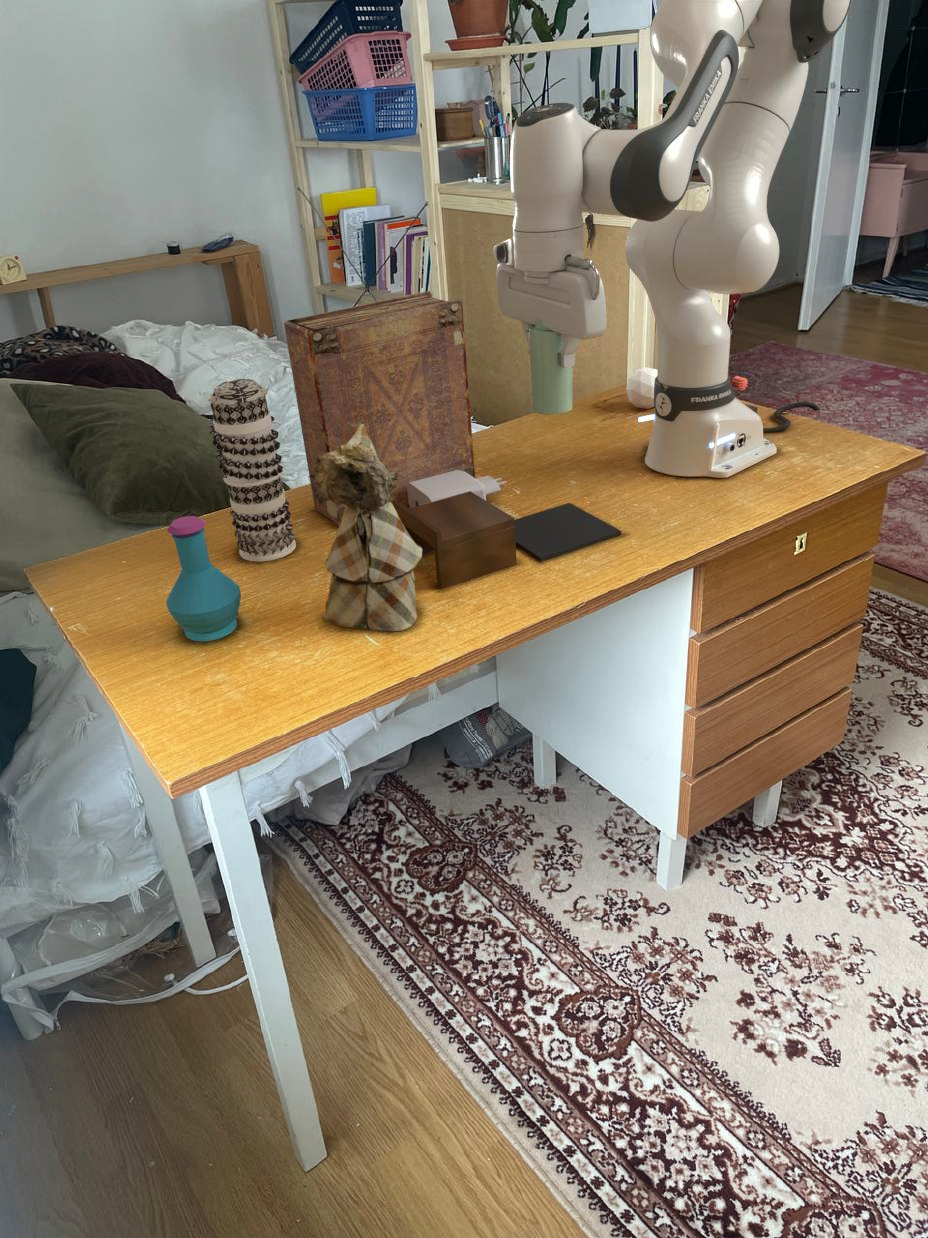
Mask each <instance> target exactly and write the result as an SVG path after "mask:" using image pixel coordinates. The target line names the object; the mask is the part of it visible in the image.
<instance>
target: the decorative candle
mask: <svg viewBox="0 0 928 1238" xmlns="http://www.w3.org/2000/svg"><path fill="white" fill-rule="evenodd" d="M267 394H268V389H267V388H265V387H263V386H261V385H260V384H259V383H258V382H257V381H255V380H254V379H251V378H236V379H229V380H226V381H222V382H220V383H219V384H217V385H215V388H214V390H213V393H211V394H210V395H209V396H208V398H207V401H208V402H209V403H210V408H211V412H212V417H213V419H212V425H210V427H209V428H210V430H209V434H210V435H211V436H212V445H213V446H214V447H215V449H217V450H216V455H215V457H216V459H218V460H219V464H218V468H219V469H220V470H221V473H222V475H223V477H222V480H223V482H224V483H225V484H226V485H227V487H228V492H229V493H228V494H229V504H230V506H231V508H230V512H229V514H230V516H232V525H233V526H234V528H235V530H234V533H233V534H234V537H235V538H236V540H237V541H236V546H237V548H239V552H238V553H239V556H240V557H241V558H242V559H243V560H246V561H248V562H249V561H250V562H261V563H263V562H269V561H275V560H279V559H282V558H284V557H286V556H288V555H289V554H291V553H292V552H293V551H294V550H295V549H296V546H297V544H296V543H297V542H296V540H295V535H296V533H295V532H293V530H294V528H293V526H294V523H293V522H292V520H291V513H292V512H291V511H290V510H289V509H290V507H289V506H290V502H289V501H288V500H287V498H286V497H287V496H286V493H285V489H284V488H283V486H282V485H283V483H282V482H283V481H282V478H281V476H282V475H283V471H284V470H283V469H284V466H283V465H280V463H281V462H282V459H283V457H282V455H280V454H278V453H277V450H279V449H280V447H281V443H280V441H278V440H276V439H278V437H279V433H280V432H279V431H277V430H275V429H274V428H271V425H272V423H273V422H274V421H275V417H274V416H272V415H271V411H270V410H269V408H268V401H267V398H266V395H267Z"/></svg>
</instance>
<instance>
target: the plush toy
mask: <svg viewBox="0 0 928 1238" xmlns="http://www.w3.org/2000/svg"><path fill="white" fill-rule="evenodd" d="M316 464H317V465H318V467H315V469H314V472H313V475H310V476H309V475H308V477H309V478H310V477H311V478H314V484H312V488H311V492H312V491H313V494H312V497H313V496H314V498H317V499H318V502H319V504H323V503H324V502H326V501H328V500H331V501H332V502H334V504H335V505H336V506H339V505H341V504H344V505H346V509H345V512H344V515H343V518H342V521H341V523H340V526H339V525H338V526H339V527H338V528H337V531H336V534H335V536H334V539H333V541H332V545H331V547H330V548H331V549H330V551H329V555H328V557H326V560H325V562H324V565H325V567H326V568H325V569H326V570H327V572H329V573H331V576H330V583H329V589H328V594H327V599H326V602H325V611H324V612H323V614H322V621H325V622H329V623H331V624H333V625H335V626H341V627H345V628H351V629H352V628H353V629H364V630H369V631H373V630H374V631H382V632H400V631H401V632H402V631H404V630H407V629H410V628H411V627H412V626H414V625H415V623H416V620H417V618H418V615H419V614H418V611H417V598H416V596H417V595H416V594H417V593H416V592H417V591H416V587H415V584H416V581H415V579H416V578H415V570H414V569H415V567H416V566H417V565H418V564H419V562H420V561H421V560H422V558H423V554H422V551H423V549H422V548H421V547H420V546H419V545H417V544H416V543H415V542H414V540H413V539H412V537H411V536H410V534H409V533H408V532H407V530H406V528H405V526H404V525H403V524H402V522H401V520H400V518H399V516H398V514H397V512H396V510H395V508H394V506H393V504H392V503H391V502H392V499H393V495H391V494H390V492H391V491H392V489H394V488H396V487H397V486H396V485H395V483H394V480H398V479H397V477H398V476H399V474H398V473H393V472H388V470H387V469H386V468H385V466H384V464H383V463H381V462H380V461H379V458H378V457H377V454H376V451H375V448H374V446H373V444H372V442H371V439H370V437H369V434H368V432H367V429H366V427H365V425H364V424H362V425H358V429H357V431H356V433H355V434H354V436H353V437H352V438H351V439H350V440H349V442H348V443H347V444H346V445H340V444H337V449H336V450H335V451H333V452H329V453H324V455H323V456H317V458H316ZM317 481H318V482H317ZM338 503H340V504H338Z"/></svg>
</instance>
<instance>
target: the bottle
mask: <svg viewBox="0 0 928 1238" xmlns="http://www.w3.org/2000/svg"><path fill="white" fill-rule="evenodd" d="M529 342H530V355H529V365H530V366H529V368H530V369H529V370H530V395H531V396H530V397H531V411H533V412H534V413H536V414H538V415H539V414H540V415H546V416H549V415H550V416H551V415H552V416H553V415H562V414H565V413H569V412H570V411H572V409H573V408H574V393H573V392H574V391H573V390H574V389H573V387H574V386H573V383H574V382H573V379H574V378H573V366H572V367H568V368H565V367H562V366H560V365H558V355H557V353H559V352H561V351H562V348H563V344H564V342H562V341H561V333H558V332H555V331H552V330H549V329H546V328H544V326H543V323H542V321H541V320H538V319H535V325H532V326H530V327H529Z"/></svg>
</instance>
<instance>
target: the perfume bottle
mask: <svg viewBox="0 0 928 1238" xmlns="http://www.w3.org/2000/svg"><path fill="white" fill-rule="evenodd" d="M206 525H207V522H206V521H205V520H204V519H202V518H201V517H199V516H196V515H187V516H182V517H178V518H175V519H174V520H173V521H172V522H171V523H170V524H169V526H168V527H167V529H166V532H167V533H168V534H170V535H171V538H172V539H173V540H174V543H175V548H176V553H177V556H178V560H179V564H180V567H181V568H180V569H181V570H180V572H179V574H178V576H177V579H176V581H175V583H174V584H173V587H172V588H171V590H170V592H169V594H168V595H167V598H166V603H165V605H166V607H167V610H168V612H169V614H170V615H171V617H172V619H174V621H175V622H176V623H177V624H178V626H179V628H181V629H182V630H183V631H184V634H185V636H186V638H188V639H189V640H190V641H194V642H211V641H215V640H219V639H222V638H224V637H226V636H228V635H230V634H231V633H233V632H234V631H235V630H236V628H237V626H238V622H237V618H238V615H239V608H240V605H241V600H242V599H241V597H242V595H241V588H240V585H239V584H238V583H237V582H235V580H233V579H232V578H230V577H229V576H228V575H226V574H225V573H224V572H222V571H221V570H219V569H218V568H217V567H216V566H214V565H213V564H212V563H211V559H210V556H209V550H208V546H207V542H206V537H205V532H206V531H205V527H206Z"/></svg>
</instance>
